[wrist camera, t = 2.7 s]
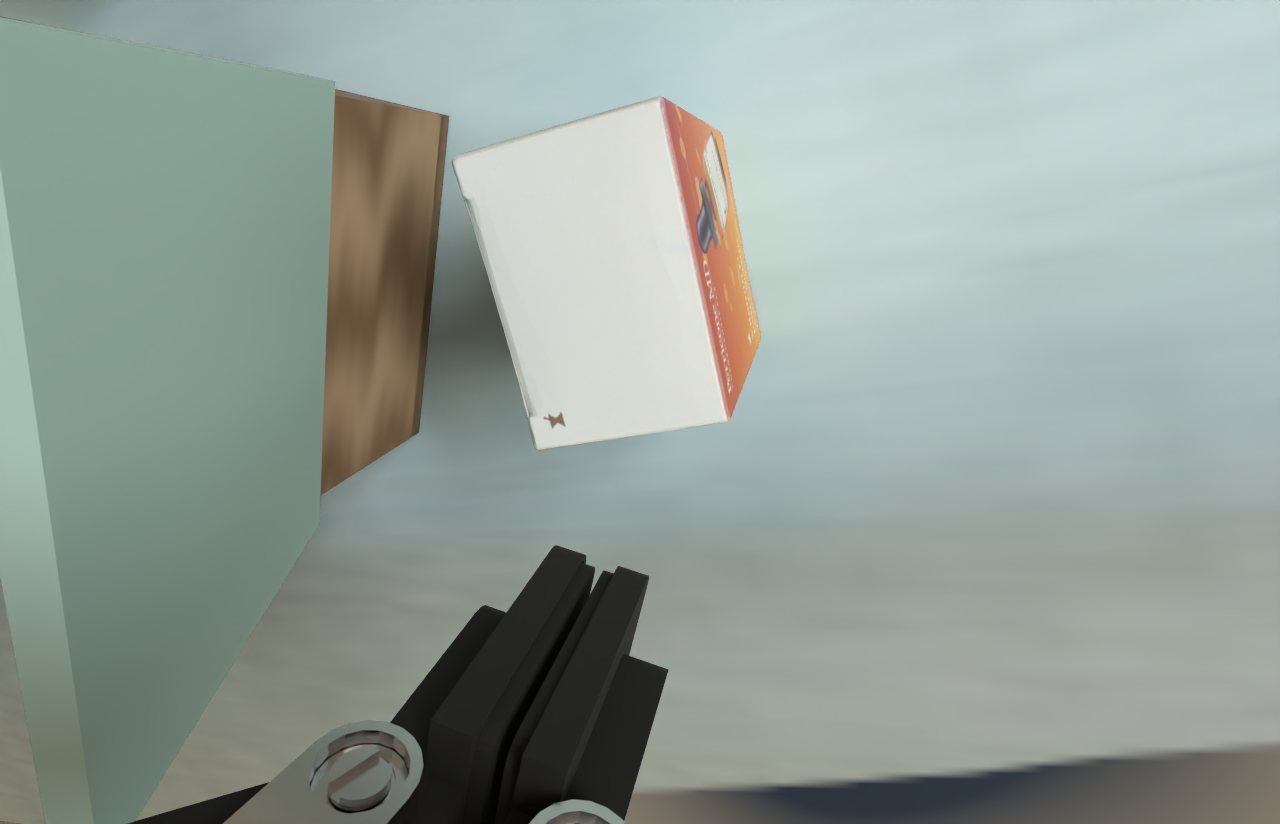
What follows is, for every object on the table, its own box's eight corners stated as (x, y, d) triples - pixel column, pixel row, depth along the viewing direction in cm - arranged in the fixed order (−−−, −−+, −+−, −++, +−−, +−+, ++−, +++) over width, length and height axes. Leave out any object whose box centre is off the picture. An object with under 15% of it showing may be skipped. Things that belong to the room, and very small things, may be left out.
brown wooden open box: (191, 55, 28) (-29, 10, 21) (448, 116, 26) (308, 90, 19) (203, 364, 33) (30, 416, 26) (418, 432, 31) (298, 509, 24)
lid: (-105, -4, 7) (-22, 15, 7) (305, 75, 19) (335, 81, 19) (55, 875, 13) (101, 876, 13) (296, 521, 24) (319, 523, 24)
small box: (763, 339, 26) (735, 432, 16) (629, 363, 28) (533, 460, 18) (724, 125, 24) (665, 88, 14) (582, 165, 26) (443, 155, 16)
